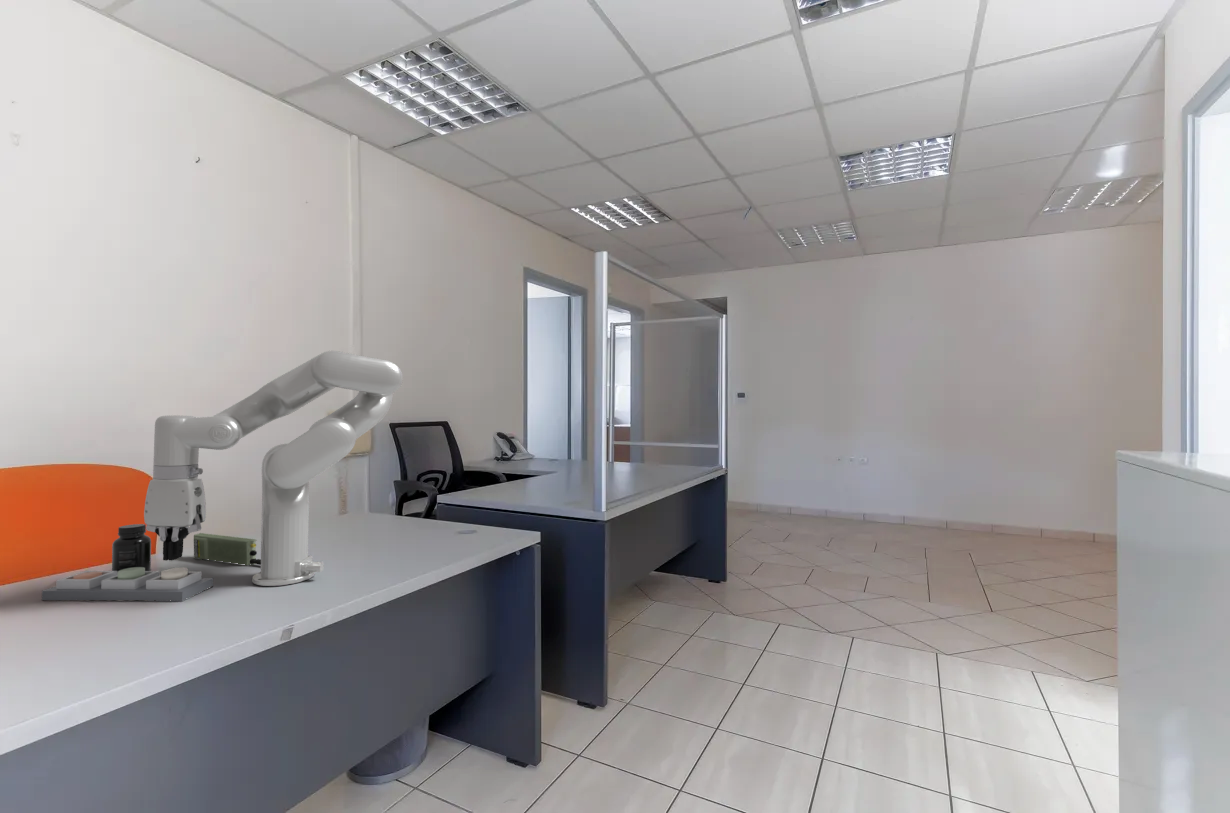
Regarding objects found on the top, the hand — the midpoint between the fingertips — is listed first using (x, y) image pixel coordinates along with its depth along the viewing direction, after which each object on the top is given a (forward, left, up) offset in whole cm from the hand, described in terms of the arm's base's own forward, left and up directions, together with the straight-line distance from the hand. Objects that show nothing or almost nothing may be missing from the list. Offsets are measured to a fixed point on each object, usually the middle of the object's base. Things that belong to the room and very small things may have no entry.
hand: (172, 558), depth 117 cm
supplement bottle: (+18, -11, -8) cm, 22 cm away
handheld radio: (+3, -24, -8) cm, 26 cm away
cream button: (0, 0, -4) cm, 4 cm away
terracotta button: (+18, 0, -5) cm, 18 cm away
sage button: (+9, 0, -4) cm, 10 cm away
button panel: (+9, 0, -8) cm, 12 cm away
